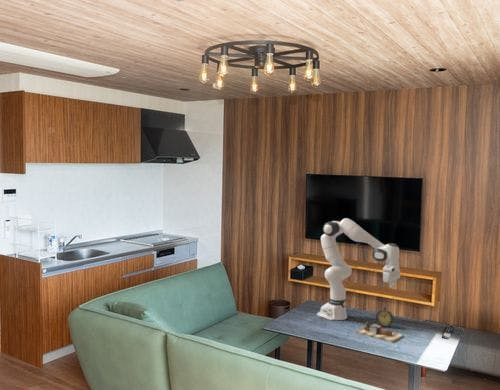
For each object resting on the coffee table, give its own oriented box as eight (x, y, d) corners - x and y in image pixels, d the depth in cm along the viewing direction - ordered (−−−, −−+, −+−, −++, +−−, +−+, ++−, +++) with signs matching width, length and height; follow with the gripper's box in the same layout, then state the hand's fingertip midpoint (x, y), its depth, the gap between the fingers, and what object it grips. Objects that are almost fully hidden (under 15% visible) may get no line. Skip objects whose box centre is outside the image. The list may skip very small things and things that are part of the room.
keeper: (369, 332, 319) (369, 326, 319) (373, 330, 324) (373, 323, 324) (376, 334, 316) (376, 327, 315) (380, 331, 321) (380, 325, 320)
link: (362, 329, 324) (363, 322, 324) (365, 327, 327) (366, 320, 327) (389, 336, 311) (389, 328, 311) (392, 334, 315) (392, 327, 314)
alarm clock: (375, 326, 335) (376, 303, 334) (377, 323, 340) (378, 301, 339) (391, 328, 330) (392, 305, 329) (393, 326, 335) (393, 303, 334)
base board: (356, 333, 321) (356, 331, 321) (367, 327, 333) (367, 325, 333) (393, 342, 304) (393, 340, 304) (403, 336, 316) (403, 334, 315)
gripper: (394, 264, 338) (393, 283, 339) (381, 268, 323) (381, 288, 324) (403, 265, 334) (402, 284, 335) (390, 270, 319) (389, 290, 320)
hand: (391, 287), depth 329 cm, fingers closed
